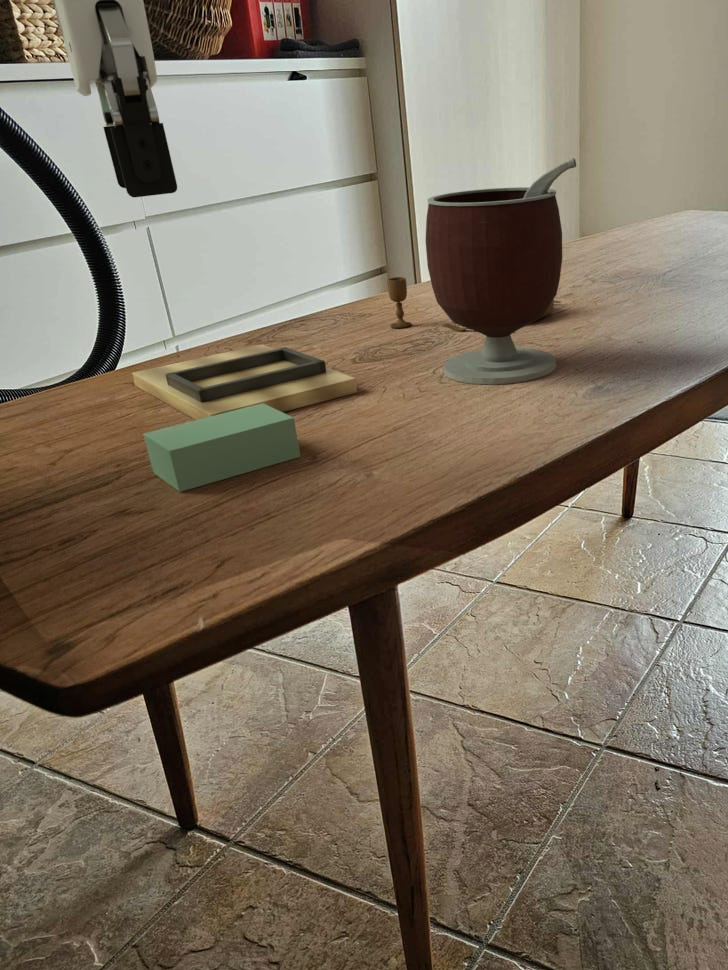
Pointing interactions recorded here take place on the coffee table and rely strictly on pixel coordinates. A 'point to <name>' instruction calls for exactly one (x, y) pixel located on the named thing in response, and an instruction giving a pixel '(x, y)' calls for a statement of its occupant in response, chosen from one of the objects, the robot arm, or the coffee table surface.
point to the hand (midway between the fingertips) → (147, 190)
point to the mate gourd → (496, 272)
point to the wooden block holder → (244, 381)
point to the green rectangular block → (222, 446)
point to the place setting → (399, 293)
